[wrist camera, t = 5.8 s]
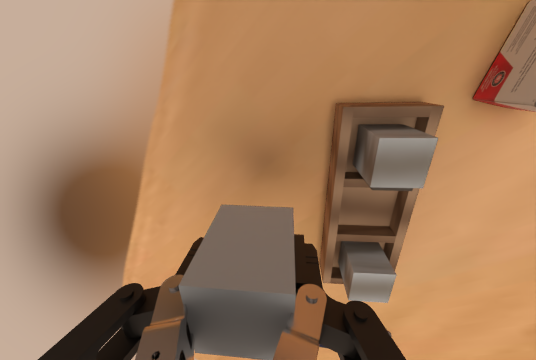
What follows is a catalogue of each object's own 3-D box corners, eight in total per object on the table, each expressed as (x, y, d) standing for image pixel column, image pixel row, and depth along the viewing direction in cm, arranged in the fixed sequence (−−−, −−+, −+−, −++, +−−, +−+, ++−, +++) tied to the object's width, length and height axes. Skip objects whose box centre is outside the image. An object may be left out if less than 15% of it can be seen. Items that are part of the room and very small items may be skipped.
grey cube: (221, 204, 14) (178, 285, 8) (293, 207, 14) (295, 294, 8) (228, 264, 16) (196, 359, 11) (289, 268, 16) (290, 369, 10)
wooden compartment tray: (336, 103, 24) (354, 113, 17) (422, 102, 23) (478, 111, 16) (319, 263, 34) (327, 310, 27) (380, 266, 33) (404, 315, 26)
